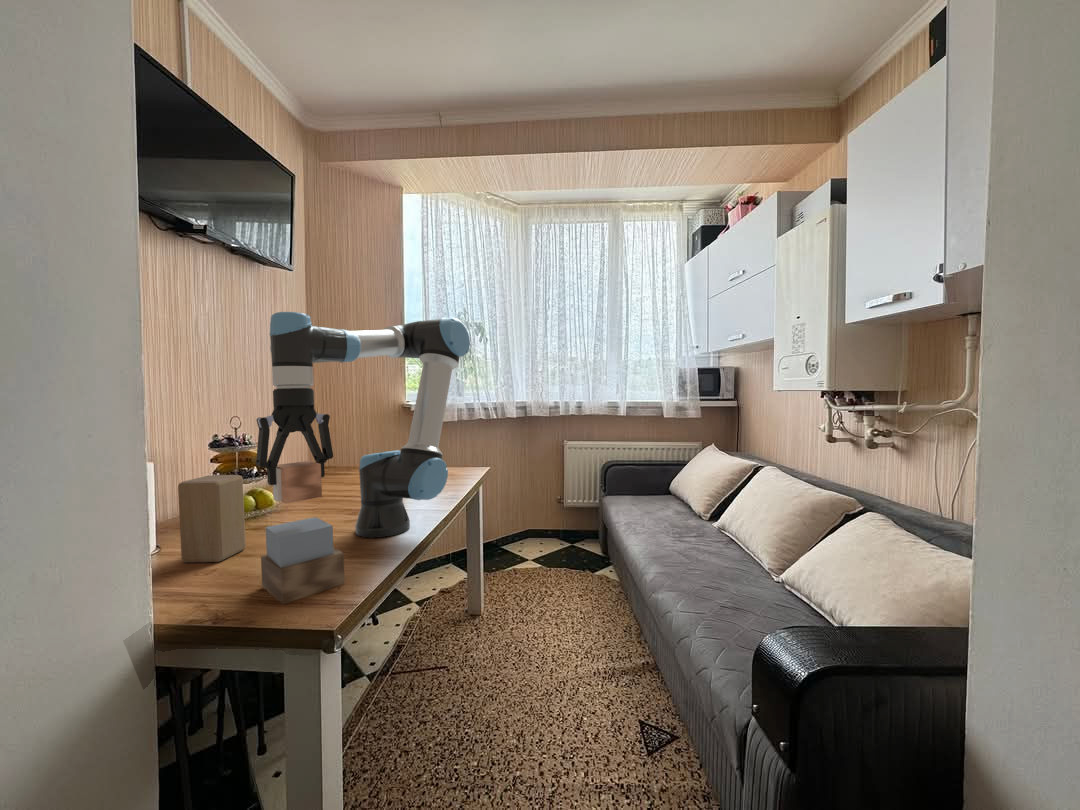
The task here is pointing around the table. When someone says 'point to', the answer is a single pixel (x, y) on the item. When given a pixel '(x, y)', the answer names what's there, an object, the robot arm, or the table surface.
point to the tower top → (299, 541)
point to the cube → (300, 481)
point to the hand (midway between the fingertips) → (297, 496)
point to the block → (211, 518)
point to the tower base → (302, 576)
